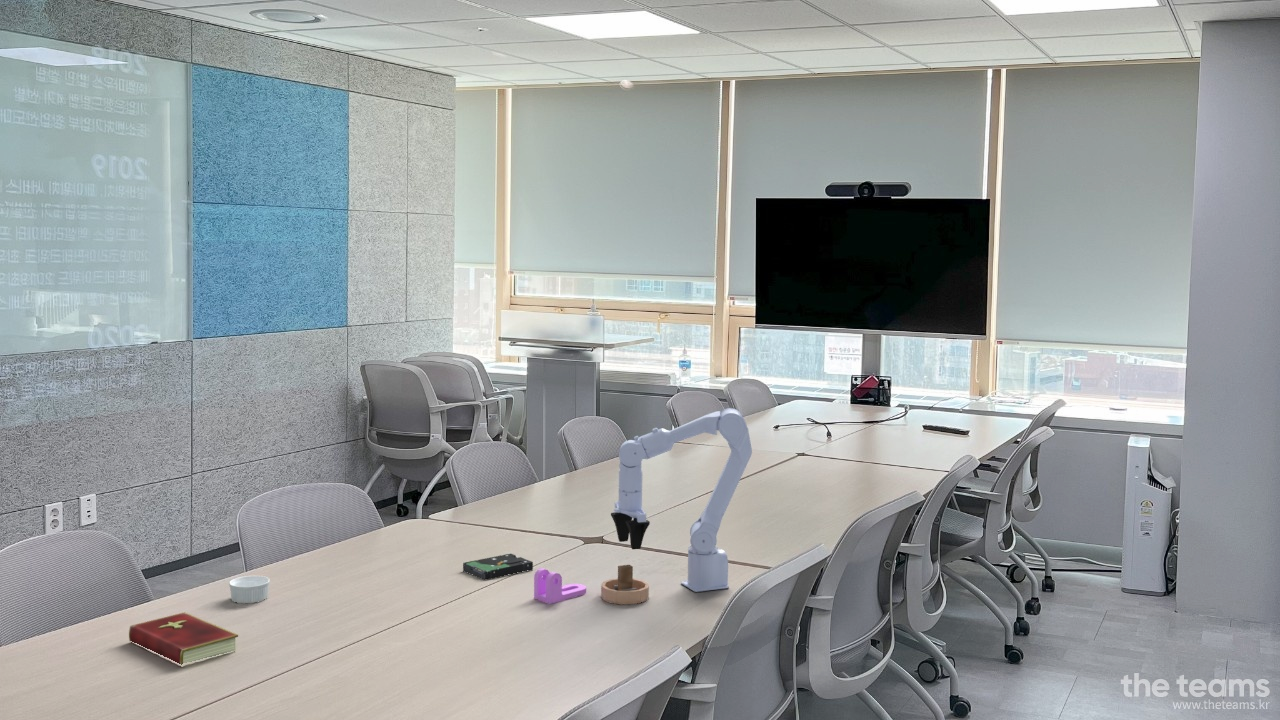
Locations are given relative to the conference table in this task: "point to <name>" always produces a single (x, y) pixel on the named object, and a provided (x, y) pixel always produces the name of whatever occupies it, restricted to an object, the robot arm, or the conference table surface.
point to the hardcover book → (183, 638)
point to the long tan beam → (625, 577)
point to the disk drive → (497, 566)
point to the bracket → (554, 587)
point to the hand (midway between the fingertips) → (629, 545)
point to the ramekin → (249, 589)
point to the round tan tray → (624, 592)
